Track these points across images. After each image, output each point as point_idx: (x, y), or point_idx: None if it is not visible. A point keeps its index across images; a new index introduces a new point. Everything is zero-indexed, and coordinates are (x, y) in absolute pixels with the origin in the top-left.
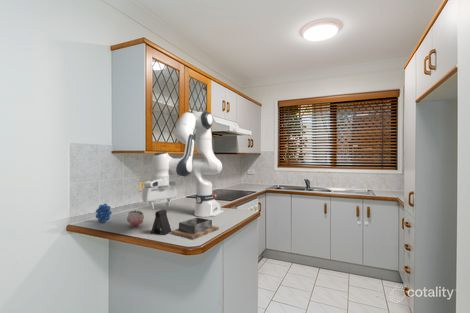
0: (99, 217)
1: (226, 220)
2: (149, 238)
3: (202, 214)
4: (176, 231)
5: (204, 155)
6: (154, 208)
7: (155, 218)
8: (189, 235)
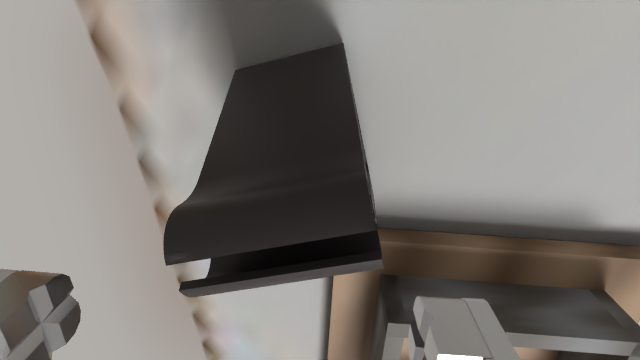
0: None
1: None
2: (163, 167)
3: None
4: (346, 277)
5: None
6: (49, 336)
7: (202, 183)
8: None
